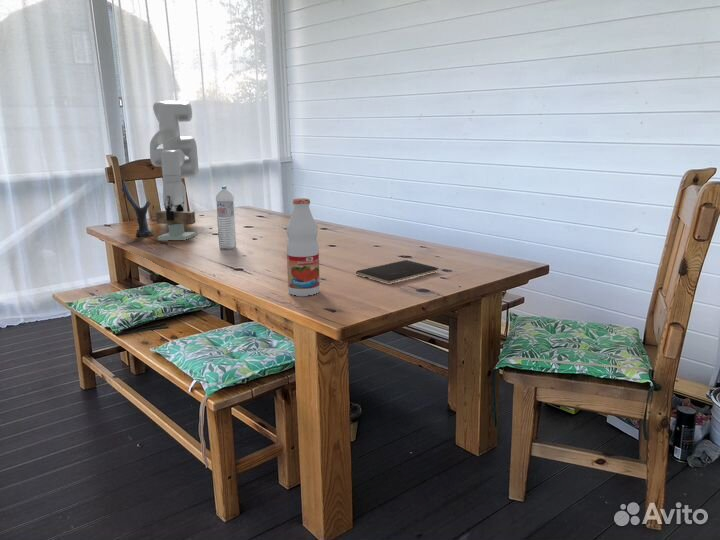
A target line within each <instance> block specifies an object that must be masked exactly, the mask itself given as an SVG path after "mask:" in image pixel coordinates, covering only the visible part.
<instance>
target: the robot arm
mask: <svg viewBox="0 0 720 540" xmlns="http://www.w3.org/2000/svg"><path fill="white" fill-rule="evenodd" d="M152 109H153V114H154V116H155V117H156V120H157V122H158V127H159V130H158V131H157V132H156V133H155V134H154V135H153V136H152V138H151V139H150V143H149V159H150V163H151V164H152V165H153V166H154V167H161V172H162V180H163V181H162V182H163V183H162V184H163V185H162V186H163V187H162V198H163V201H162V202H163V206H164V209H165V210H164V211H166V217H167V220H168V221H173V220H174V211H188V205H187V204H188V202H187V192H186V186H185V184H184V182H182V179H189V178H191V179H192V178H197V177H198V175H199V171H200V170H199V169H200V168H199V156H198V146H197V142H196V140H195V138H194V137H192V136H187V135H186V136H182V135H181V130H180V122H182V123H183V122H191V121H192V119H193V109H192V104H191V103H190V102H189V101H188V100H187V101H185V100H184V101H181V100H177V101H175V100H164V101H156V102H154V103H153V106H152ZM161 145H162V147H163V148H158V147H159V146H161ZM186 157H187V158H186Z"/></svg>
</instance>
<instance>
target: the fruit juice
mask: <svg viewBox="0 0 720 540" xmlns="http://www.w3.org/2000/svg"><path fill="white" fill-rule="evenodd" d="M292 205H293V211H292V214H291V217H290V220H289V222H288V224H287V225H286V236H287V238H288V241H287V244H286V267H287V269H286V270H287V289H288V293H289V295H291V294H292V295H291V296H294V295H296V296H295V297H309V296H308V295H312V296H314V295H313V294H315V295H317V294H319V293H318V292H320V290H321V288H320V287H321V286H320V283H321V282H320V250H319V249H320V247H319V242H318V240H317V237H318V234H319V233H318V232H319V230H318V229H319V228H318V225H317V223H316V221H315V219H314V217H313V215H312V210H311V208H310V205H311V200H310V198H294V199H292ZM316 293H317V294H316Z"/></svg>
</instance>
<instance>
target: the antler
mask: <svg viewBox="0 0 720 540" xmlns="http://www.w3.org/2000/svg"><path fill="white" fill-rule="evenodd" d="M120 189H121V191H122V192H123V193H124V195H125V197H126V199H127V201H128V202H129V203H130V205H131V206H132V208H133V209H134V212H135V215H136V217H137V220H136V221H137V225H138V229H136V234H135V235H136V236H135V237H137V236H140V237H139V238H142V237H141V236H146V237H150V236H153V235H154V233H153V230H150V229H149V225H148V221H147V213H148V209H149V207H150V206H151V204H152V203H151V202H150V201H146V203H145V204H144V206H142V207H140V206H139V205H138V203H137V202H136V200H135V199H134V197H133V196H132V194H131V192H130V190H129V187H128V185H127V183H126V180H123V182H122V188H120Z"/></svg>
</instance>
